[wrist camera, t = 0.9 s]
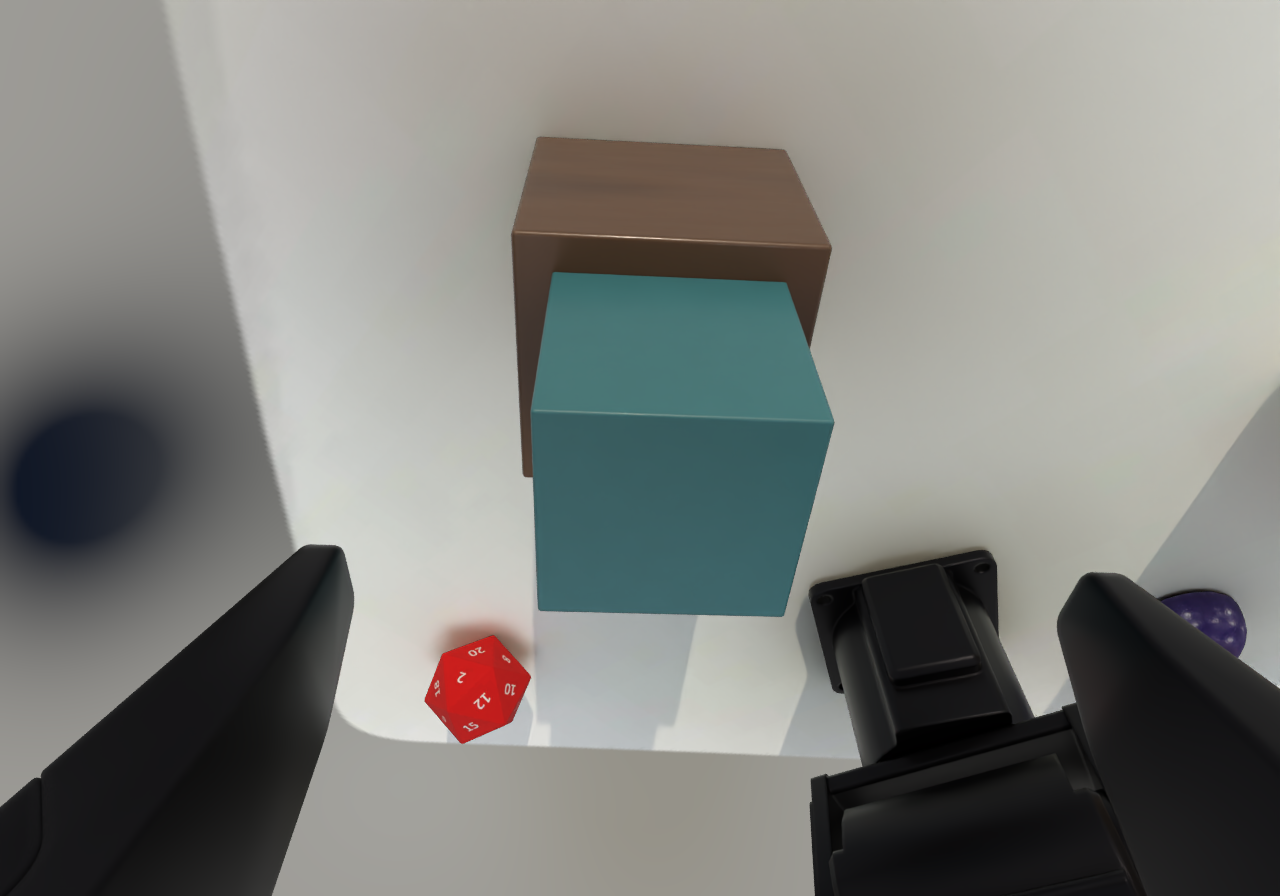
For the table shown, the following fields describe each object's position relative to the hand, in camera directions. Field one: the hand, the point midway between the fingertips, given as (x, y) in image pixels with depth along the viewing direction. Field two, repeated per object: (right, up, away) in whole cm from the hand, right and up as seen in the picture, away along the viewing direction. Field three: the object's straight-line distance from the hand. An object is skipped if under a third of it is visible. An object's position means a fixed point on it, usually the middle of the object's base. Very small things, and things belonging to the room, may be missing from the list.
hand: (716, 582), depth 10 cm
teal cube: (0, +3, +7) cm, 8 cm away
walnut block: (-1, +7, +11) cm, 13 cm away
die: (-7, -6, +22) cm, 24 cm away
